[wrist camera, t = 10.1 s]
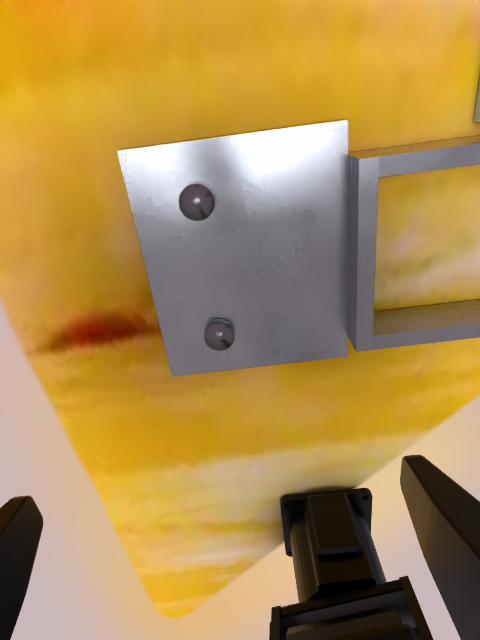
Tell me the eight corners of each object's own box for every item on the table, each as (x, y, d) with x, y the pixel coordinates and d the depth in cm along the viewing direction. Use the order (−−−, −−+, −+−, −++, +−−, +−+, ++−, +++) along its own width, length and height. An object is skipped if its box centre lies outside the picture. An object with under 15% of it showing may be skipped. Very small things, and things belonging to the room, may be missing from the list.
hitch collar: (504, 330, 23) (534, 353, 21) (173, 368, 24) (168, 395, 21) (555, 91, 17) (602, 88, 15) (121, 149, 18) (106, 154, 16)
